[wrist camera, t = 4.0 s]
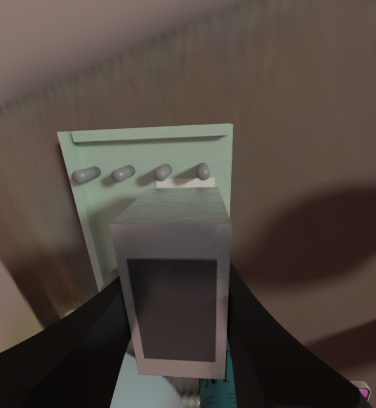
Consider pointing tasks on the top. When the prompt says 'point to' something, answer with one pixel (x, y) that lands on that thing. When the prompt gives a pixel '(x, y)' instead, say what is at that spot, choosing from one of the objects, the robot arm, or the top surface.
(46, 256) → the top surface
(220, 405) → the beverage bottle
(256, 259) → the top surface
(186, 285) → the block
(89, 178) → the tray
